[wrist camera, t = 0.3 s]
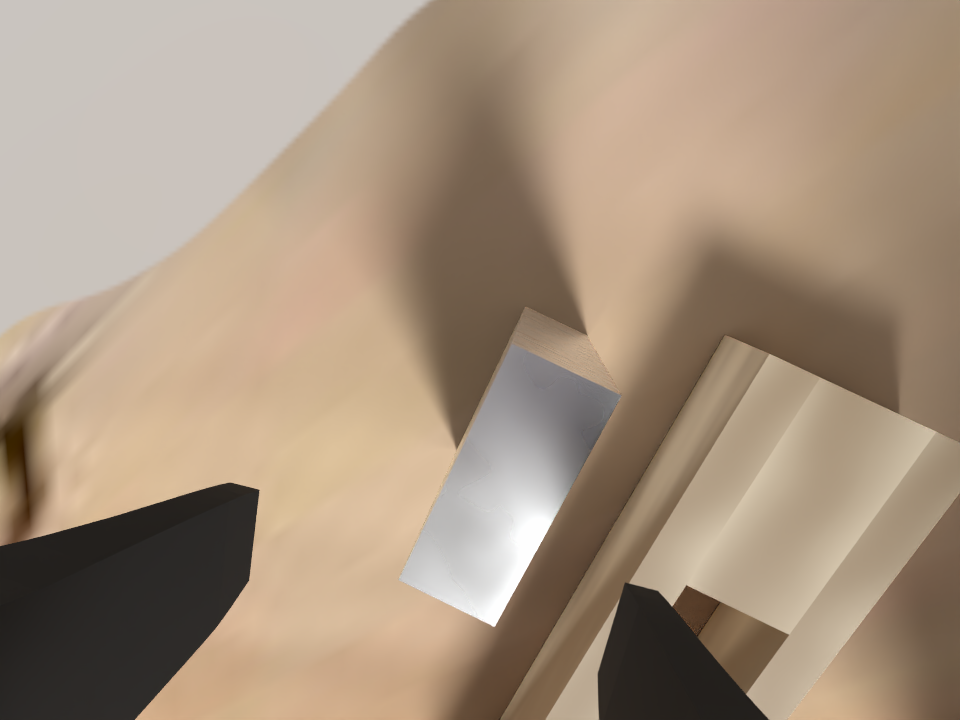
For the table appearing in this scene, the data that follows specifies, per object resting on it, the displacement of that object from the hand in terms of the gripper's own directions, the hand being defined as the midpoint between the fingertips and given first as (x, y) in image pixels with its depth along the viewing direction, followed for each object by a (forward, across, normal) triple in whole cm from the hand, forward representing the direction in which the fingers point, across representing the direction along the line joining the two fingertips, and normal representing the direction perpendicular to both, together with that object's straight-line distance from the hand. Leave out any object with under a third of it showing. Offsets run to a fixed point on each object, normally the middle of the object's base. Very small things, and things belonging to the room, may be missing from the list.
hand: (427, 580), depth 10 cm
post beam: (+10, -8, +6) cm, 14 cm away
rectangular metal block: (+10, -1, -1) cm, 10 cm away
